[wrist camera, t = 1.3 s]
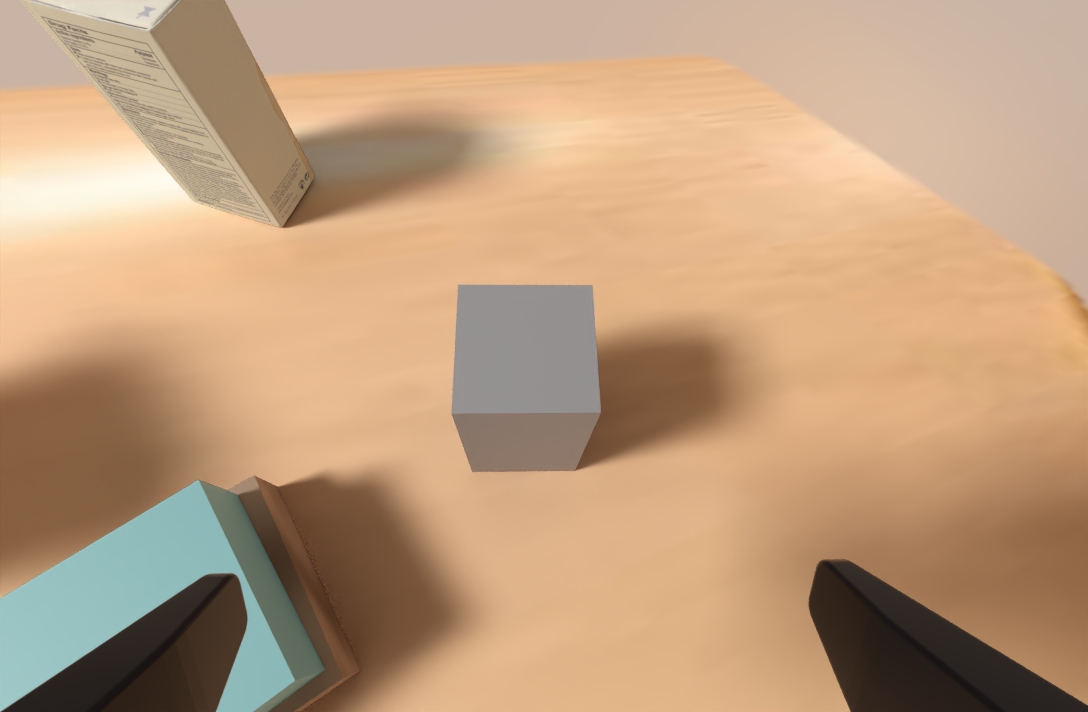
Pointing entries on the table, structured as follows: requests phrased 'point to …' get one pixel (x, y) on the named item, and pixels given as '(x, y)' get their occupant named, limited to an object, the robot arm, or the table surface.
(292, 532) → the tower base
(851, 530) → the table surface
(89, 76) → the skincare box
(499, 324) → the grey block
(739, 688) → the table surface
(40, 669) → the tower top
